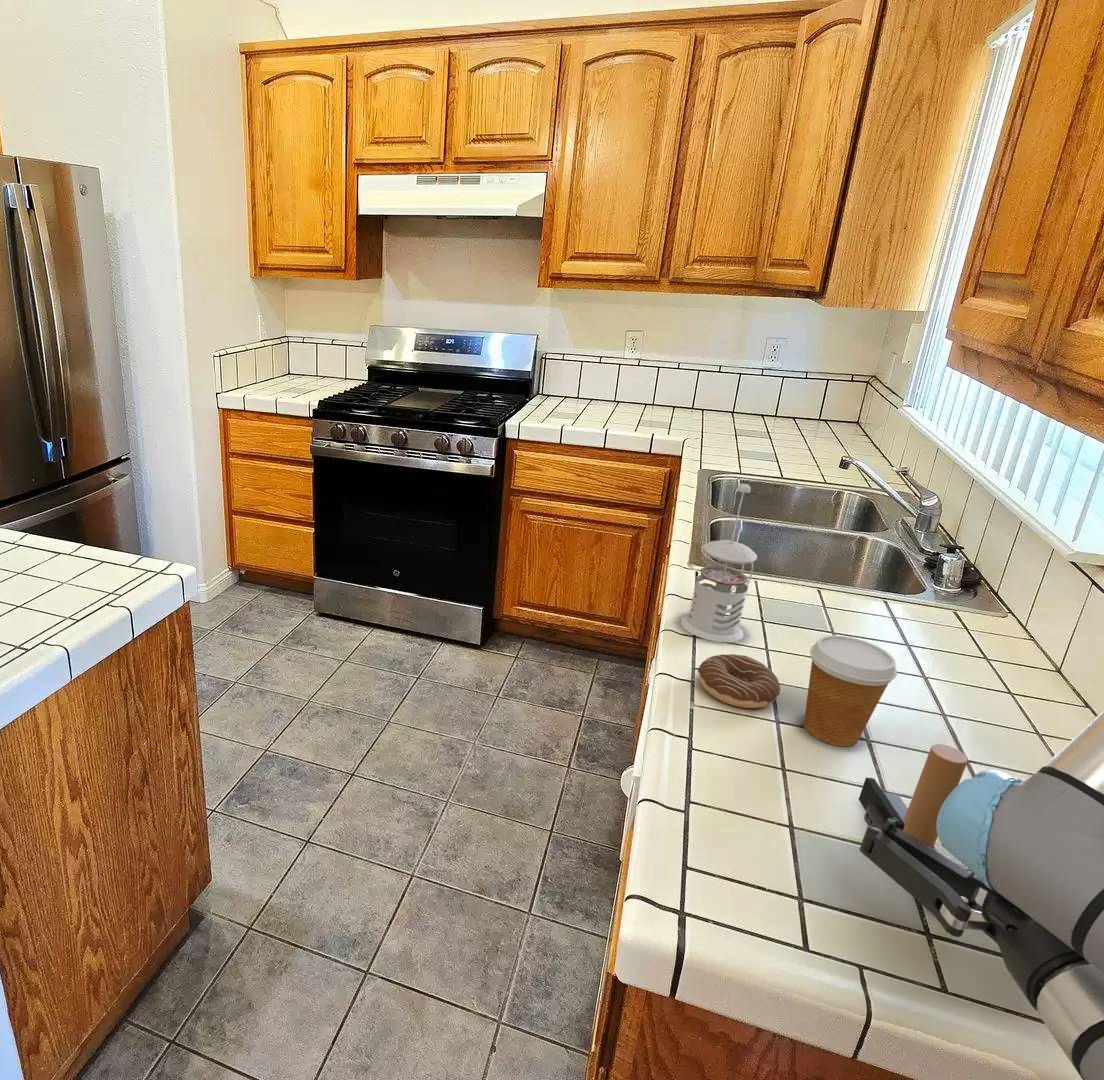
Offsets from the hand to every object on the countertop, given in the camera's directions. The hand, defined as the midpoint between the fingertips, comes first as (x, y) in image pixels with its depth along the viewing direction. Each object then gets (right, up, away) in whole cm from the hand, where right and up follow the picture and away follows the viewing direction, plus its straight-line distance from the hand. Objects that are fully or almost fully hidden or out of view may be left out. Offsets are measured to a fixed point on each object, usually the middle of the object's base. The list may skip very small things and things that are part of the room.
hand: (940, 798), depth 74 cm
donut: (-5, +4, +33) cm, 33 cm away
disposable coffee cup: (+4, 0, +24) cm, 25 cm away
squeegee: (0, -7, +4) cm, 8 cm away
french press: (0, +11, +51) cm, 52 cm away
